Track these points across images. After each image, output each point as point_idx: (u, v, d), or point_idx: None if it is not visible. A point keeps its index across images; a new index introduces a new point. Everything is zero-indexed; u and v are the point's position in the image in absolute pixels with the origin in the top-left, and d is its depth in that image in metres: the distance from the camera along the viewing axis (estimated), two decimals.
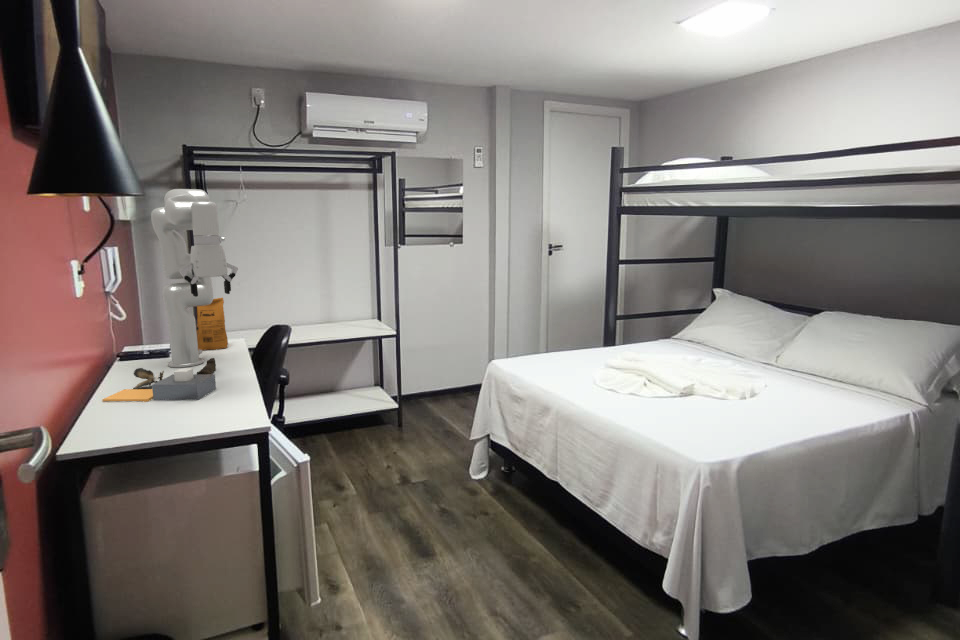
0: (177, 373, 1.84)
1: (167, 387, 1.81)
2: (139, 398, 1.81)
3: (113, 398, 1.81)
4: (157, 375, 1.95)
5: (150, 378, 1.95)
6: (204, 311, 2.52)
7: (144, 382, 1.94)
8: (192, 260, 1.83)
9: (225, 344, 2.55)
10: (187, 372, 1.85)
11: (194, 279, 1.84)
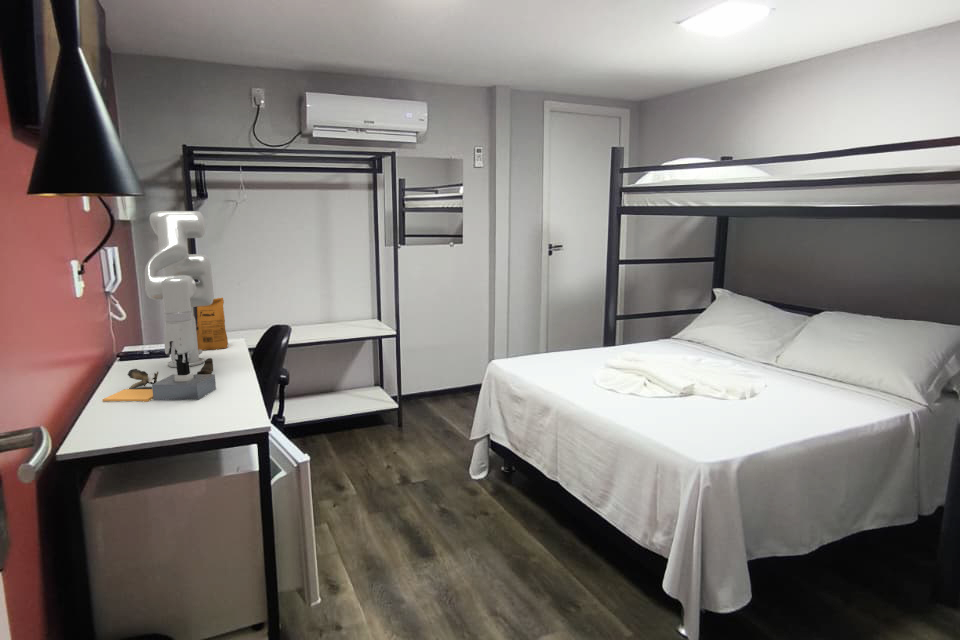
0: (177, 377, 1.85)
1: (167, 387, 1.81)
2: (139, 398, 1.81)
3: (113, 398, 1.81)
4: (151, 376, 1.94)
5: (144, 379, 1.94)
6: (204, 311, 2.52)
7: (138, 383, 1.93)
8: (173, 338, 1.79)
9: (225, 344, 2.55)
10: (187, 376, 1.85)
11: (184, 358, 1.84)
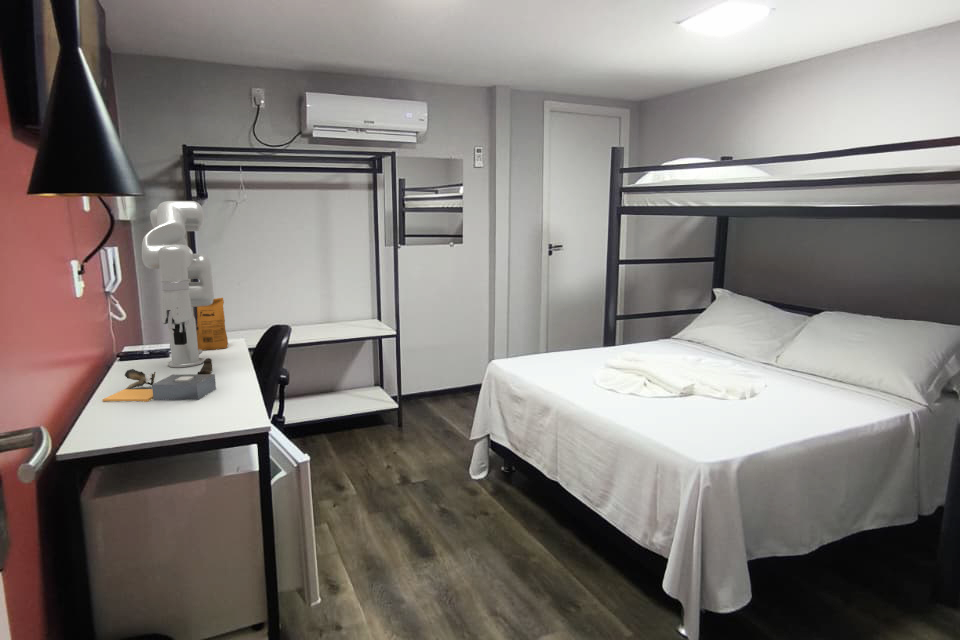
0: None
1: (167, 387, 1.81)
2: (139, 398, 1.81)
3: (113, 398, 1.81)
4: (149, 376, 1.94)
5: (142, 379, 1.94)
6: (204, 311, 2.52)
7: (136, 383, 1.93)
8: (170, 307, 1.78)
9: (225, 344, 2.55)
10: (188, 380, 1.85)
11: (181, 327, 1.83)
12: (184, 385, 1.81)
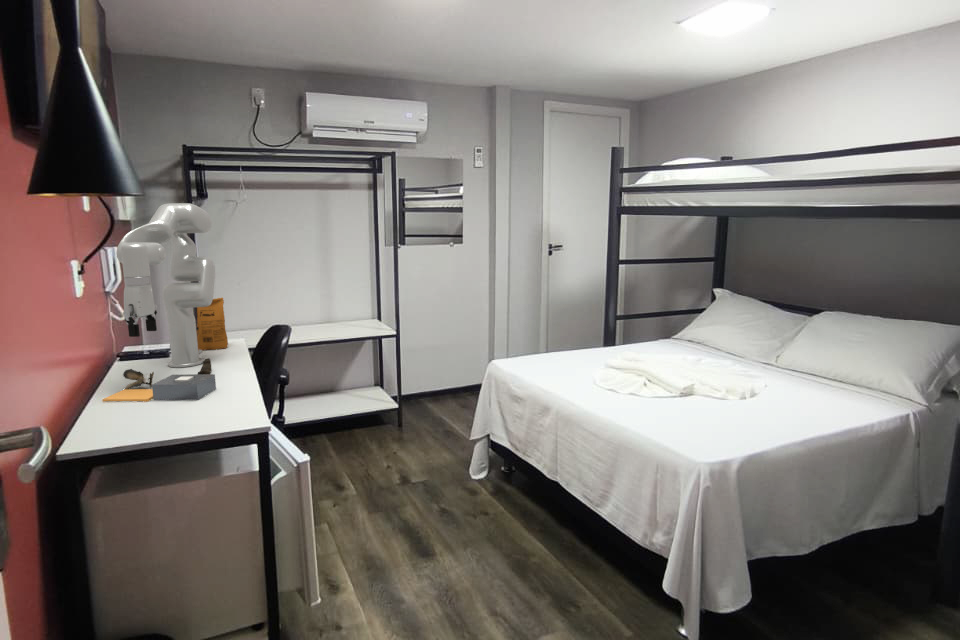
0: None
1: (167, 387, 1.81)
2: (139, 398, 1.81)
3: (113, 398, 1.81)
4: (147, 376, 1.94)
5: (140, 379, 1.94)
6: (204, 311, 2.52)
7: (134, 383, 1.93)
8: (132, 301, 1.87)
9: (225, 344, 2.55)
10: (188, 380, 1.85)
11: (136, 319, 1.88)
12: (184, 385, 1.81)
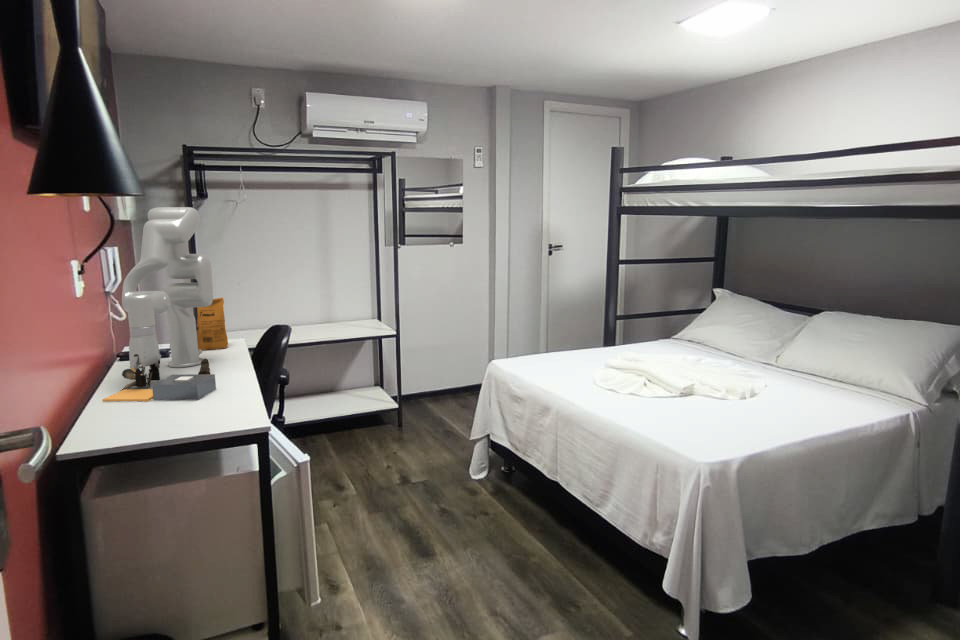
0: None
1: (167, 387, 1.81)
2: (139, 398, 1.81)
3: (113, 398, 1.81)
4: (146, 376, 1.94)
5: None
6: (204, 311, 2.52)
7: (132, 383, 1.93)
8: (138, 351, 1.90)
9: (225, 344, 2.55)
10: (188, 380, 1.85)
11: (143, 370, 1.91)
12: (184, 385, 1.81)
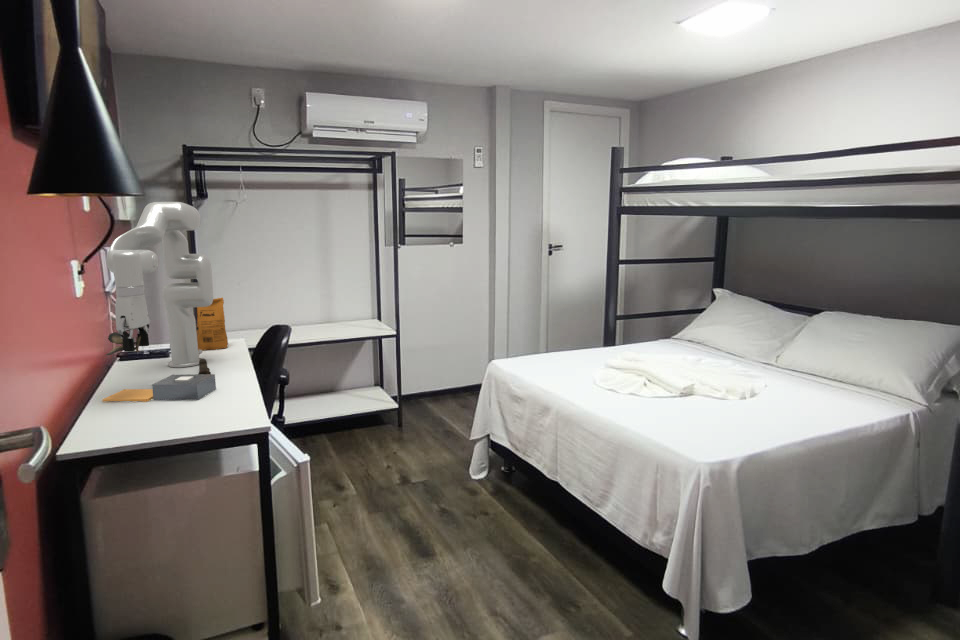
0: None
1: (167, 387, 1.81)
2: (139, 398, 1.81)
3: (113, 398, 1.81)
4: None
5: None
6: (204, 311, 2.52)
7: (119, 347, 1.80)
8: (124, 313, 1.77)
9: (225, 344, 2.55)
10: (188, 380, 1.85)
11: (131, 333, 1.78)
12: (184, 385, 1.81)
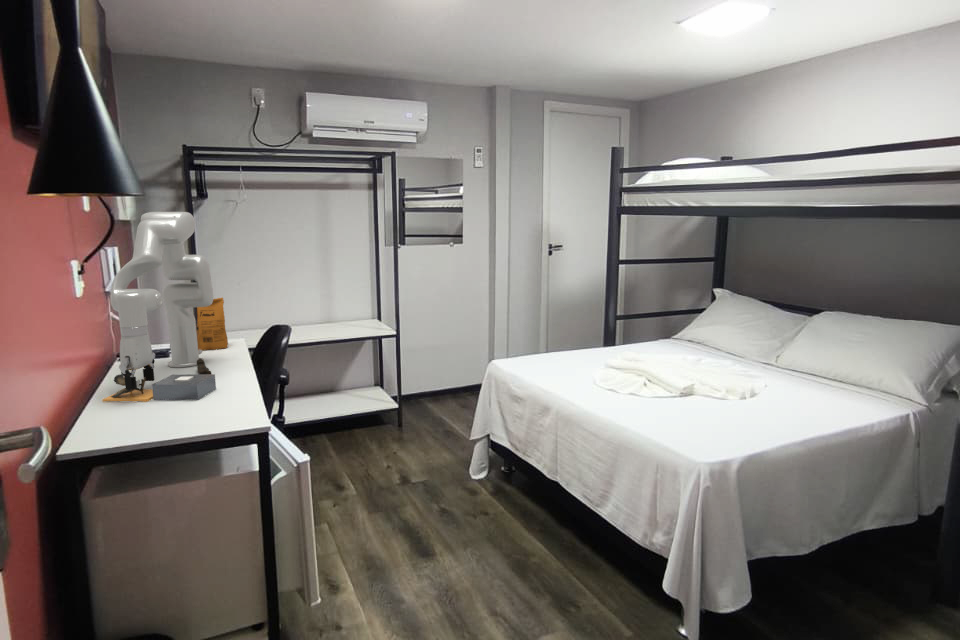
0: None
1: (167, 387, 1.81)
2: (139, 398, 1.81)
3: (113, 398, 1.81)
4: (138, 382, 1.83)
5: None
6: (204, 311, 2.52)
7: (124, 389, 1.83)
8: (129, 353, 1.79)
9: (225, 344, 2.55)
10: (188, 380, 1.85)
11: (133, 372, 1.79)
12: (184, 385, 1.81)
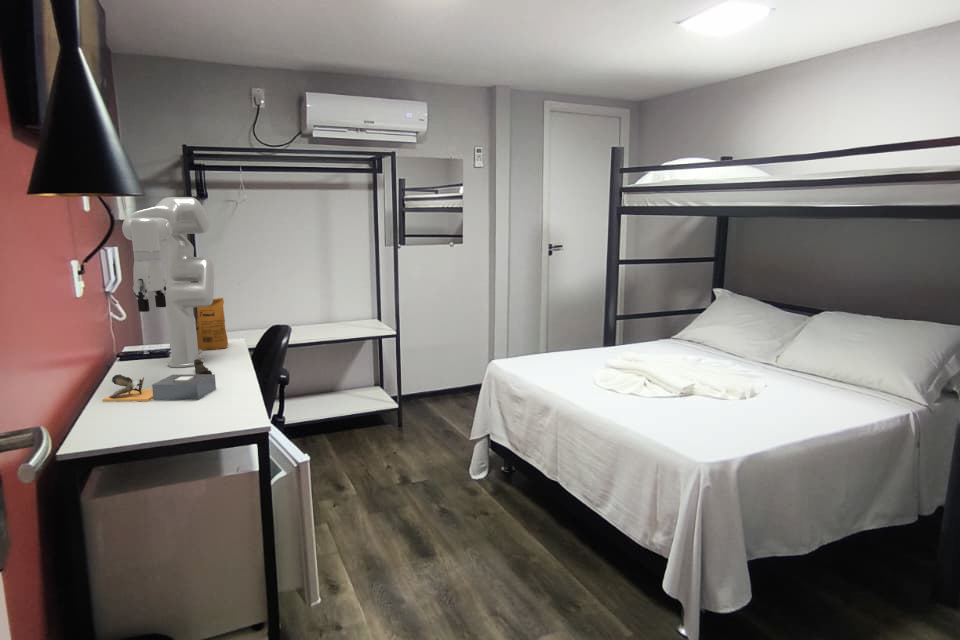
0: None
1: (167, 387, 1.81)
2: (139, 398, 1.81)
3: (113, 398, 1.81)
4: (136, 382, 1.83)
5: (129, 385, 1.83)
6: (204, 311, 2.52)
7: (122, 390, 1.82)
8: (142, 276, 1.86)
9: (225, 344, 2.55)
10: (188, 380, 1.85)
11: (146, 294, 1.86)
12: (184, 385, 1.81)
